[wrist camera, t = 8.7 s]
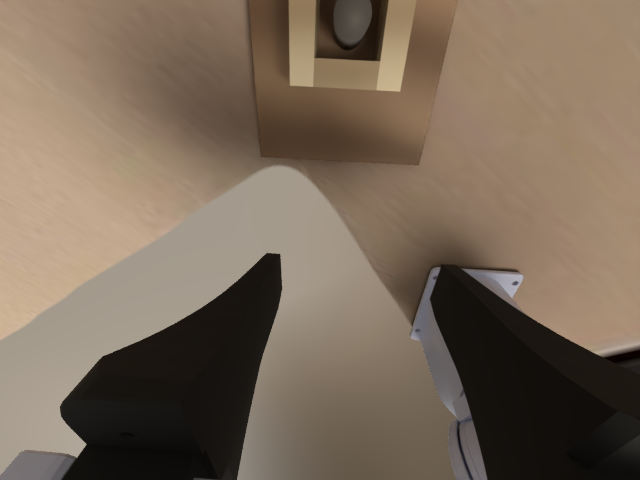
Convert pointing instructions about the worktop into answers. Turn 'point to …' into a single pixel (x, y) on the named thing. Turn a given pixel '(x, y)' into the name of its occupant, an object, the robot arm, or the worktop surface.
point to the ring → (350, 73)
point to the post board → (346, 104)
